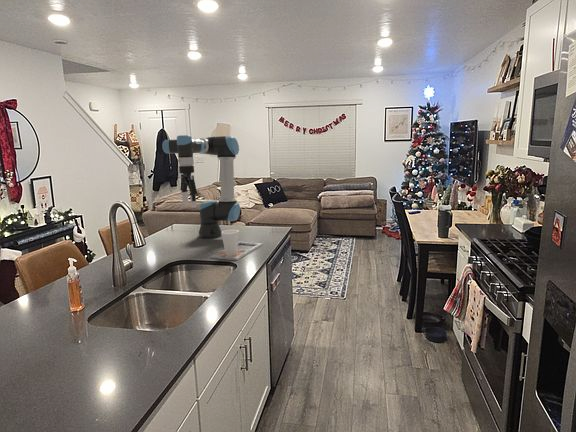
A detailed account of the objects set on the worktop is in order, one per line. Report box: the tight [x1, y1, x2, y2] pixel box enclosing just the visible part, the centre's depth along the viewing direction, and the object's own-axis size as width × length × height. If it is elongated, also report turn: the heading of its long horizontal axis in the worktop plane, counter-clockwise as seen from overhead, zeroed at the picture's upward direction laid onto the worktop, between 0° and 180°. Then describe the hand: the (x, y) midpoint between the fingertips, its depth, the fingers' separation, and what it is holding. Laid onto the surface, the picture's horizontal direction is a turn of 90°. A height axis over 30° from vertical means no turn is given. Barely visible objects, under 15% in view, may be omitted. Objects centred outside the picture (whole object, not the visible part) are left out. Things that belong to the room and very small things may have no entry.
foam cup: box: [221, 229, 240, 256], centre depth 212 cm, size 10×9×13 cm
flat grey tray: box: [210, 240, 263, 261], centre depth 220 cm, size 31×16×1 cm, turn 158°
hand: (189, 205), depth 205 cm, fingers open, 13 cm apart
